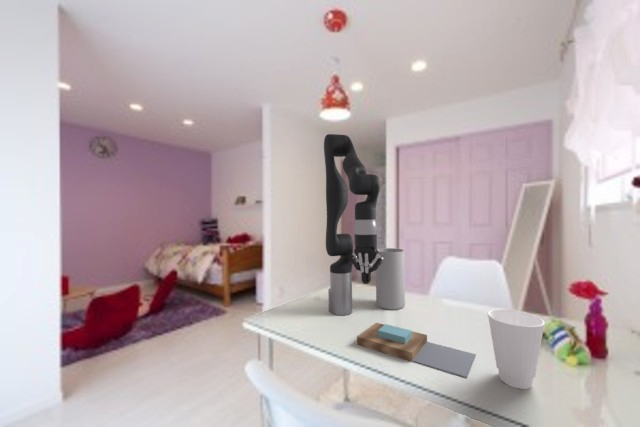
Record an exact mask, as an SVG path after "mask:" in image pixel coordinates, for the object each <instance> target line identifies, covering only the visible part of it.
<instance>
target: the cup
mask: <svg viewBox="0 0 640 427" xmlns="http://www.w3.org/2000/svg"><path fill="white" fill-rule="evenodd" d="M487 317H488V322H489V328H490V335H491V340H492V346H493V353H494V360H495V363H496V368H497V369H498V376H499V379H500V380H501V381H502V382H503V383H504V384H506V385H508V386H510V387H513V388H516V389H520V390H521V389H523V390H528V389H531V388H532V387H533V383H534V378H535V377H536V374H537V368H538V367H537V366H538V362H539V356H540V349H541V344H542V341H543V340H542V339H543V335H544V334H543V333H544V329H545V326H546V325H545V324H546V322H545V320H544V319H542V318H541V317H539V316H537V315H534V314H532V313H529V312H525V311H522V310H516V309H515V310H514V309H508V308H507V309H506V308H497V309H496V308H495V309H491V310H489V311H488V312H487Z"/></svg>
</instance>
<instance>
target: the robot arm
mask: <svg viewBox="0 0 640 427" xmlns="http://www.w3.org/2000/svg"><path fill="white" fill-rule="evenodd" d="M323 154H324V164H325V201H326V203H325V204H326V230H325V248H326V249H325V250H326V253H327V255H328V256H330V257H339V259H337V260H335V262H333V263H331V264H330V266H329V279H330V280H329V282H330V283H329V284H330V288H328V312H330V313H331V314H332V315H336V316H348V315H350V314H352V313H353V280H352V279H353V275H352V274H353V273H352V272H353V270H352V269H353V268H352V267H353V266H354V268H355V269H356V271H359V272H361V273H360V274H361V282H362V283H363V284H364V285H368V284H370V283H371V282H372V273H373V272H376V270H377V268H378V267H379V266H380V264H381V263H382V262H383V261H384V257H381V256H380V255H379V254H378V251H377V249H378V248H377V247H378V237H377V235H378V230H377V219H376V218H377V212H376V206H377V203H378V199H379V194H380V191H381V186H382V185H381V179H380V178H379V176H378V175H377V174H370V173H369V174H367V173H368V172H367V169H366V167H365V165H364V164H363V162H362V161H361V160H360V158H359V157H358V155H357V154H358V153H357V152H356V149H355V146H354V144H353V141H352V139H351V138H350V136H348V135H346V134H337V133H336V134H333V133H330V134H326V135H325V137H324V141H323ZM335 157H336V158H342V157H344V158H343V160H342V169H343V171H344V173H345V175H346V177H347V179H348V184H347V183H346V182H345V180H344V178H343V177H342V174H341V173H340V172H339V170H338V169H337V168H338V167H337V165H336V160H335ZM347 185H349V186H347ZM348 187H349V188H348ZM348 189H349V191H350V193H352V194H353V195H355V196H366V198H365V199H364V201H360V202H357V203H355V205H354V225H353V226H354V230H353V231H354V241H353V238H352V235H350V234H349V233H338V232H337V231H338V225H339V221H340V219H341V217H342V215H343V214H344V212H345V210H346V208H347V206H348V202H349V199H348V198H349V197H348V196H349V193H348ZM354 247H355V248H354ZM374 261H375V262H374ZM373 262H374V263H373Z"/></svg>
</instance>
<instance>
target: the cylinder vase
mask: <svg viewBox="0 0 640 427" xmlns="http://www.w3.org/2000/svg"><path fill="white" fill-rule="evenodd" d="M377 251H378V254H379V255H380V256H381V257H384V261H383V262H382V263H381V264H380V266H379V267H378V268H377V270H376V271H375V295H376V296H375V299H376V303H375V304H376V305H377V306H378V307H379V308H380V309H384V310H391V311H393V310H394V311H395V310H396V311H397V310H401V309H403V308H405V305H406V297H405V296H406V291H405V290H406V286H405V284H406V283H405V281H406V280H405V279H406V278H405V250H404V249H401V248H395V247H394V248H393V247H391V248H390V247H389V248H387V247H385V248H377Z"/></svg>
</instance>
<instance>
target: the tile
mask: <svg viewBox="0 0 640 427" xmlns="http://www.w3.org/2000/svg"><path fill="white" fill-rule="evenodd" d="M412 331H413V330H411V329H407V328H403V327H399V326H396V325H395V326H394V325H391V324H387V323H385V324H384V326H383V327H381V328H380V329H379V330H378V337H382V338H385V339H389V340H393V341H396V342H400V343H404V344H406V343H407V342H408V341H409V340H410V338H411V337H412Z"/></svg>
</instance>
